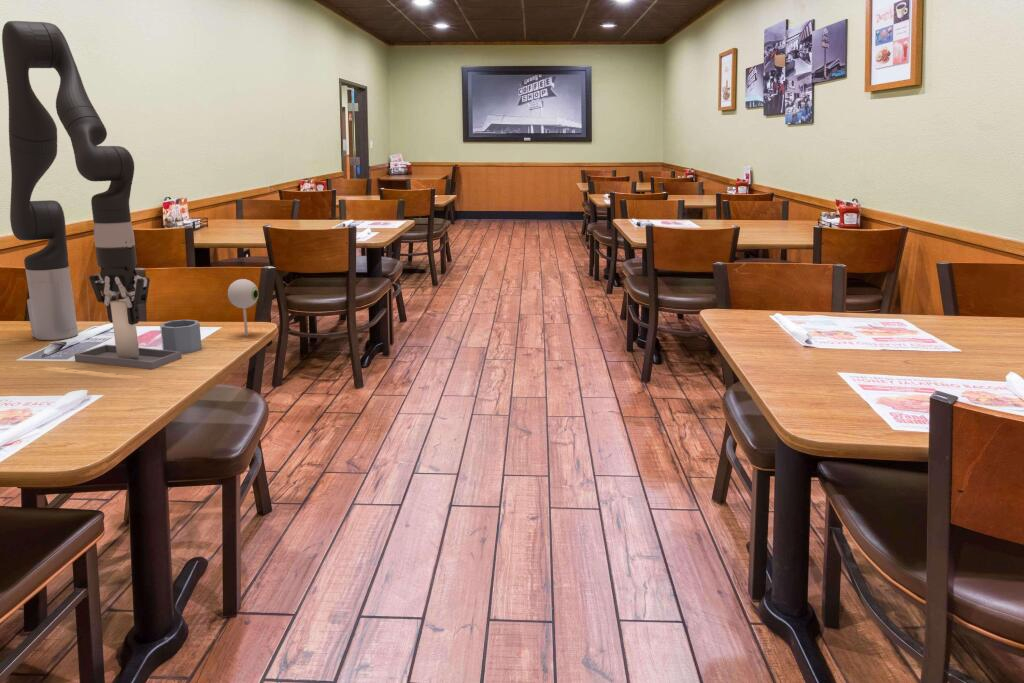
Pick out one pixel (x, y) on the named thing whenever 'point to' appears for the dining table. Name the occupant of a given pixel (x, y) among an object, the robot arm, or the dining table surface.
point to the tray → (143, 360)
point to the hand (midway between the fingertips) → (124, 322)
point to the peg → (123, 331)
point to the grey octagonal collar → (181, 336)
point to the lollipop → (243, 296)
